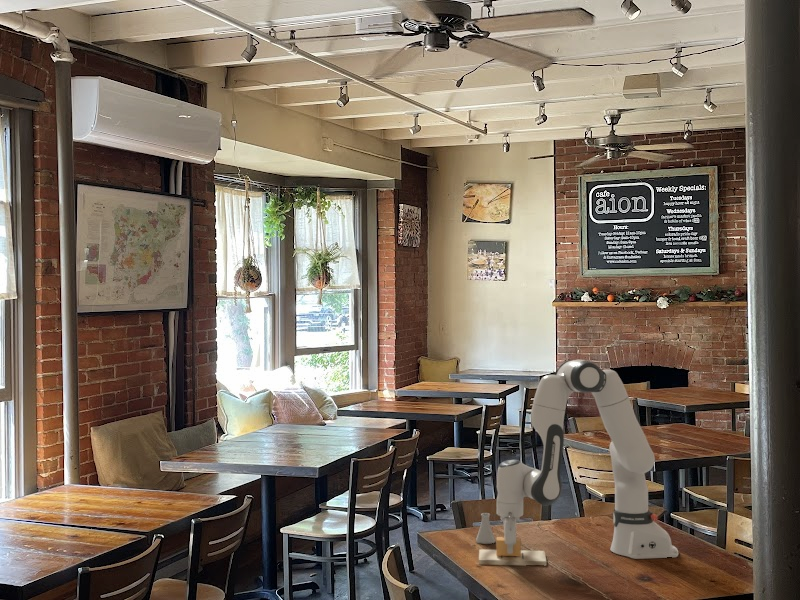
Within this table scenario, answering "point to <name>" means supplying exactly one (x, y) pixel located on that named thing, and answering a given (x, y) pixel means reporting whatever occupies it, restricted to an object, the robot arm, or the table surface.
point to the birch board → (512, 558)
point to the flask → (485, 531)
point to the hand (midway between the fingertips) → (509, 550)
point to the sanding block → (502, 547)
